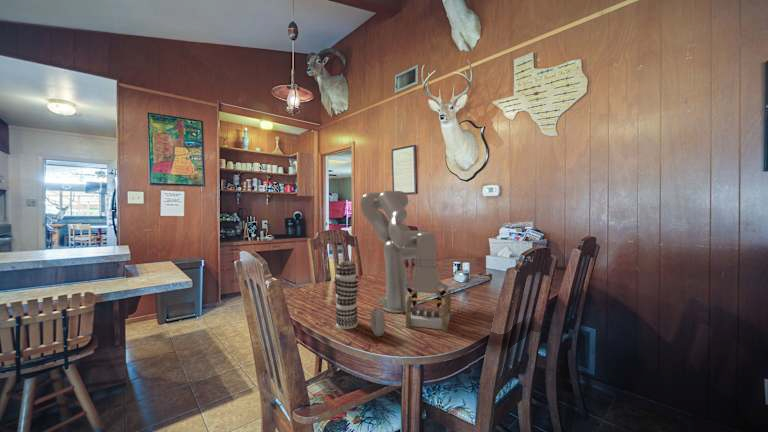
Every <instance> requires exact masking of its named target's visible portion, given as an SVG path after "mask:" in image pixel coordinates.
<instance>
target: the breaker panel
mask: <svg viewBox="0 0 768 432" xmlns="http://www.w3.org/2000/svg"><path fill="white" fill-rule="evenodd" d="M449 322H450V320H449V313H448V325H449ZM411 327H419V328H428V329H433V330H434V329H435V330H442V311H441V312H440V310H436V309H435V311H432V309H427V310H425V308H424V309H423V308H420V309H418V308H417V309H414V308H413V307H412V308H411Z"/></svg>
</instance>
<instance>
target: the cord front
mask: <svg viewBox="0 0 768 432" xmlns="http://www.w3.org/2000/svg"><path fill="white" fill-rule="evenodd" d="M410 300H411V302H412V301H417V302H422V303H435V304H437V303H441V304H442V303H443V302H442V299H441V300H437V299H428V298H427V299H426V298H418V297H417V298H412V297H411V299H410Z"/></svg>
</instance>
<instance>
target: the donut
mask: <svg viewBox="0 0 768 432" xmlns="http://www.w3.org/2000/svg"><path fill="white" fill-rule="evenodd" d="M383 311H384V310H382V309H381V308H379V307H374V308H373V309H372V311H371V313H370V326H371V331H372V333H373V334H374V336H375V337H381V336H383V335H384V333H385V332H386V331H385V330H386V319H385V317H386V316H385V314H384V312H383Z"/></svg>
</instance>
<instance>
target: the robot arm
mask: <svg viewBox="0 0 768 432" xmlns="http://www.w3.org/2000/svg"><path fill="white" fill-rule="evenodd" d="M408 204H409V197H408V195H407V194H406V192H404V191H403V190H384V191H382V192H366V193H365V194H363V195H362V196H361V198H360V209H361V212H362V215H363V216H364V218H365V219H366V220H367V221H368V222H369V224H370V225H371V227H372V229H373V230H374V231H373V232H375V235H376V236H377V238H378V239H379V241H380V242H381V243H383V244H384V246H383V247H382V248H383V256H384V261H385V262H384V263H385V297H377V303H379V304H383V305H382V309H383V311H385V312H388V313H392V314H393V313H394V314H395V313H396V314H400V313H401V314H402V313H406V296H408V293H409V294H410V296H411V298H416V294H415V293H416V292H417V293H422V294H423V293H425V294H426V293H427V294H435V295H436V296H437V298H436V300H441V301H442V297H443V296H444V295H446V294H445V293H446V291H447V290H449V285H447V284H446V283H443V282H442V281H440V276H439V269H438V266H436V259H437V258H436V234H435V233H434V232H432V231H431V232H430V231H424V230H411V229H410V228H409V226H408V225H407V224H405V223H403V222H404V221H405V220H406V218H407V216H408V211H407V210H406V207H407V206H408ZM381 210H383V211H384V213H383V212H382V211H381ZM412 259H413V260H412ZM405 260H412V263H413V264H415V266H414V268H413V274H412V275H413V277H412V280H410V281H407V280H408V272H407V270H408V269H407V267H406V265H405V264H404V262H403V261H405ZM411 285H412V288H411V287H410V286H411ZM440 287H442V288H443V289H442V290H440ZM440 291H442V292H440ZM411 304H412V307H413V306H415V305H416V301H411ZM440 306H442V303H436V308H438V309H439V308H440Z"/></svg>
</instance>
